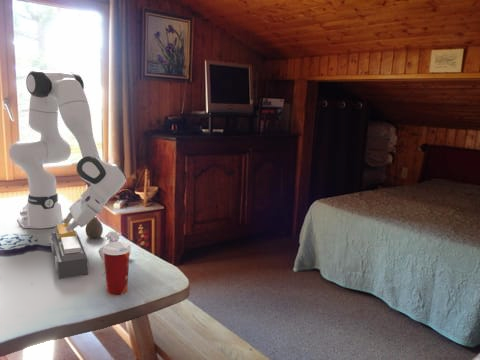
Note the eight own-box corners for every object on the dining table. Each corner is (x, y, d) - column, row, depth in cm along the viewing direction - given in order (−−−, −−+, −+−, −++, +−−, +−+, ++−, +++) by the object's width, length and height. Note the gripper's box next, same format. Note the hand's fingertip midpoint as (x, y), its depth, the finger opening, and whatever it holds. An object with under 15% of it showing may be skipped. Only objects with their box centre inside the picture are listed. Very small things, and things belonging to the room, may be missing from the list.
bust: (129, 261, 154) (123, 233, 158) (135, 254, 149) (129, 226, 153) (98, 267, 147) (92, 238, 151) (103, 261, 142) (96, 231, 146)
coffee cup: (135, 291, 127) (135, 246, 124) (112, 299, 120) (111, 252, 118) (121, 282, 132) (121, 239, 129) (97, 290, 126) (97, 244, 123)
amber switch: (56, 228, 156) (56, 224, 156) (70, 226, 159) (70, 222, 158) (59, 238, 146) (59, 233, 146) (74, 236, 148) (74, 232, 148)
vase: (97, 241, 167) (96, 221, 165) (82, 239, 168) (81, 219, 167) (106, 235, 174) (105, 216, 172) (91, 234, 175) (91, 214, 173)
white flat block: (61, 241, 142) (60, 237, 141) (76, 240, 144) (76, 235, 144) (64, 254, 131) (64, 249, 131) (80, 251, 134) (80, 247, 134)
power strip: (50, 247, 157) (50, 228, 156) (76, 244, 162) (76, 225, 160) (57, 279, 131) (56, 256, 130) (87, 274, 136) (87, 252, 134)
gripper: (82, 189, 162) (56, 214, 159) (90, 201, 145) (61, 229, 142) (94, 199, 165) (69, 224, 162) (103, 212, 148) (75, 240, 145)
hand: (65, 226), depth 152 cm, fingers open, 8 cm apart
